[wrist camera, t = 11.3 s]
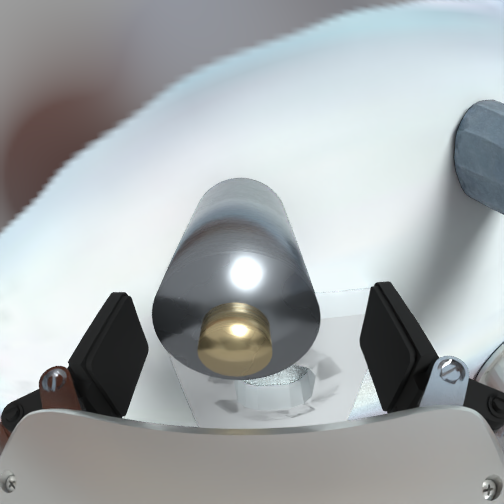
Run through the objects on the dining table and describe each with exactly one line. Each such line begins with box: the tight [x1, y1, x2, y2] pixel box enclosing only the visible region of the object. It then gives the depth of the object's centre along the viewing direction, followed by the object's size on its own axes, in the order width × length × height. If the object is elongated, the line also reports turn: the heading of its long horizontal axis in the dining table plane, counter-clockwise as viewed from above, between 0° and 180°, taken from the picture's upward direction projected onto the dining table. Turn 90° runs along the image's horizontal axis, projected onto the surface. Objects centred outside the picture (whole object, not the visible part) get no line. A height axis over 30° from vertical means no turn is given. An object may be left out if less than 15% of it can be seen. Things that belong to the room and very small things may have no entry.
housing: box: [168, 288, 370, 429], centre depth 24 cm, size 16×16×3 cm
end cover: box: [152, 178, 321, 380], centre depth 14 cm, size 6×6×11 cm
